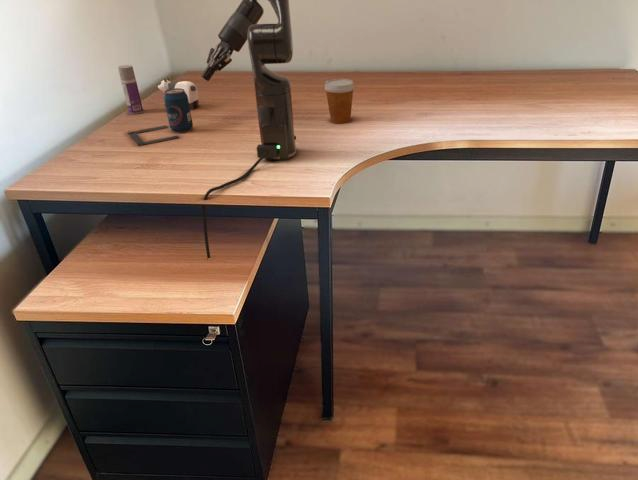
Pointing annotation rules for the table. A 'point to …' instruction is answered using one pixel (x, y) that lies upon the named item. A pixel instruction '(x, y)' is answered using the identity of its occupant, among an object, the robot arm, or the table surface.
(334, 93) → the disposable coffee cup
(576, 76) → the table surface
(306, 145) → the table surface
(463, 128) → the table surface
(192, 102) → the giant panda
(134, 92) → the container
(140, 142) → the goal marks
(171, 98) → the soda can
